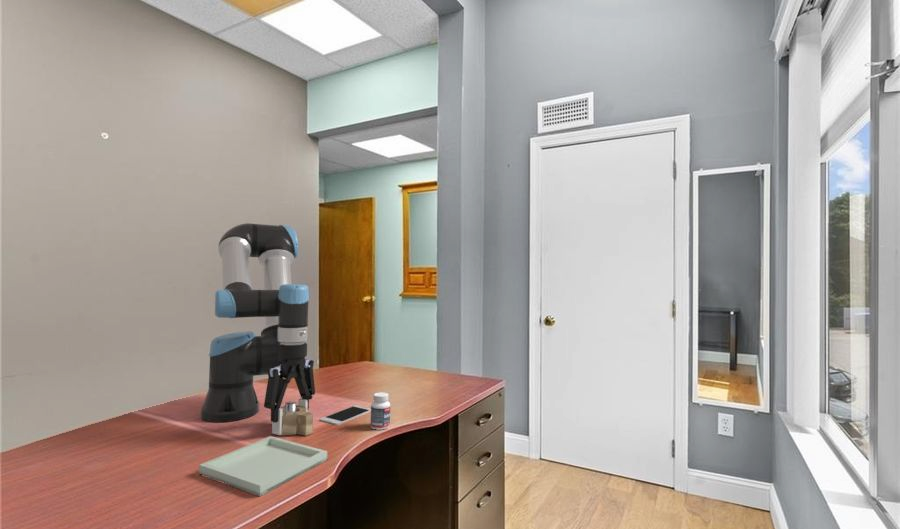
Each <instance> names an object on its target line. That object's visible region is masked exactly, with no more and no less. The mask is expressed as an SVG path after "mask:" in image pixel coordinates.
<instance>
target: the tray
mask: <svg viewBox="0 0 900 529" xmlns="http://www.w3.org/2000/svg"><path fill="white" fill-rule="evenodd" d="M326 461H328V450H325V449H320V448H318V447H317V448H316V447H312V446H309V445H305V444H303V443H298V442H295V441H291V440H286V439H284V438H283V439H282V438H279V437H275V436H271V435H269V436H267V437H265V438H262V439H260V440H257V441H255V442H253V443H252V442H251V443H250V444H248V445H245V446H243V447H240V448H238V449H236V450H232V451H231V452H228V453H225V454H223V455H220V456H218V457H216V458H213V459H210V460H208V461H206V462H203V463H201V464H199V466H198V468H199V470H198V475H199V474H202V475H204V476H207V477H209V478H208V479H210V478H212V479H211V480H213V479H215V480H214V481H216V480H218V481H221V482H224V483H226V484H225V485H227V484H229V485H232V486H234V487H233V488H235V487H236V488H235V489H238V488H239V489H238V490H241V491H244V492H246V493H250V494H252V495H255V496H256V497H257V496H258V497H262V496H264V495H265V494H267V493H269V492H271V491H273V490H275V489H276V488H278V487H280V486H282V485H284V484H286V483H287V482H289V481H291V480H293V479H296V478H297V477H298V476H300V475H302V474H305V473H306V472H307V471H310V470H312V469H314V468H315V467H317V466H319V465H321V464H323V463H325V462H326ZM202 475H201V476H202ZM204 476H203V477H204ZM207 477H206V478H207ZM218 481H217V482H218ZM221 482H220V483H221ZM224 483H223V484H224ZM229 485H228V486H229ZM232 486H231V487H232Z"/></svg>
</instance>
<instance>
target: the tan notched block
mask: <svg viewBox="0 0 900 529" xmlns="http://www.w3.org/2000/svg"><path fill="white" fill-rule="evenodd" d="M280 408H281V409H283V413H282V434H281V435H280V436H292V435H301V436H305V437H306V436H309V435H311V434H313V433H314V431H313V430H314V413H313V412H312V413H311V412H308V411H307V412H306V407H302V406H298V405H297V404H296V412H295V413H288V414H285V405H284V406H280Z"/></svg>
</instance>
